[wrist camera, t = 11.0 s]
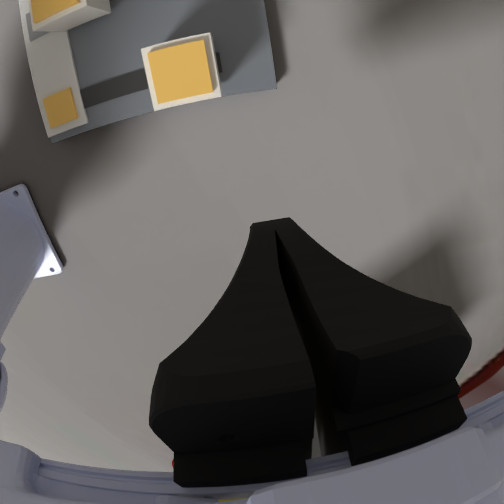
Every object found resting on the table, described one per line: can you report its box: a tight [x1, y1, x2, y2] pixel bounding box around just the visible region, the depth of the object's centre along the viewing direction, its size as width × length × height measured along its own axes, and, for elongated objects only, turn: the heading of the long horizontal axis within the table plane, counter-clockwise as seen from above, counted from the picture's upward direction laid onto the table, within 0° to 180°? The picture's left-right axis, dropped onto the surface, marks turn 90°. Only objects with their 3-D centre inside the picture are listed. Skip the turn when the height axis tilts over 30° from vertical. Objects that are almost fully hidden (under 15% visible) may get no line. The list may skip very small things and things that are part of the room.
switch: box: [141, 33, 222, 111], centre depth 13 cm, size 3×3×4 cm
